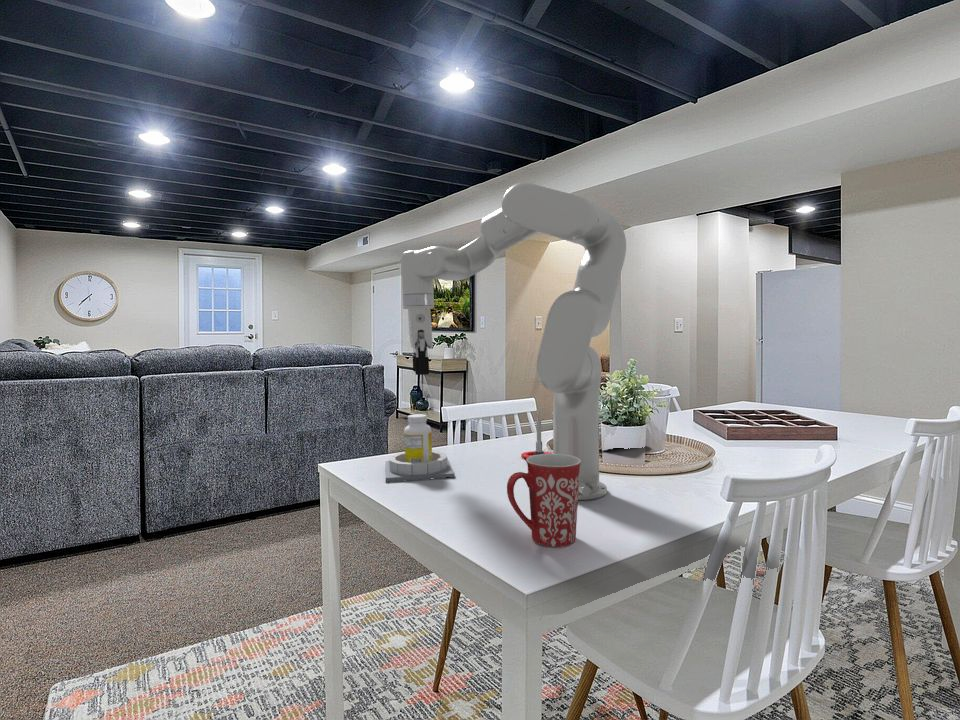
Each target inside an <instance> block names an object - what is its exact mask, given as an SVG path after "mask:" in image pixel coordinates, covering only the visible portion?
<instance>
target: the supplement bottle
mask: <svg viewBox="0 0 960 720" xmlns="http://www.w3.org/2000/svg"><path fill="white" fill-rule="evenodd" d="M427 421H428V416H427V414H424V413H416V414H409V415H407V422H408V425H406V426H405V427H404V430H403V435H404V436H403V438H404V452H405V462H408V463H420V462H429V461H432V451H433V446H432V445H433V444H432V428H431V426H430V425H429V424H427Z"/></svg>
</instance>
